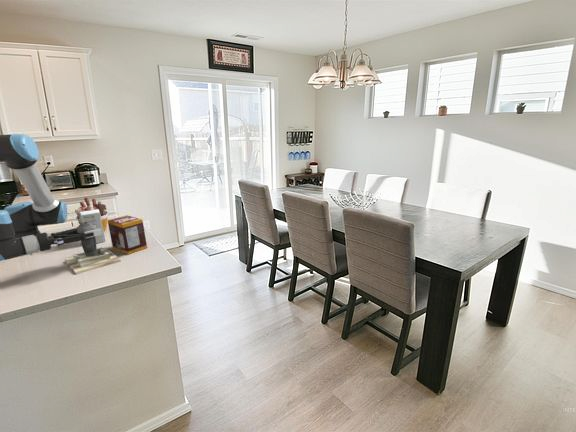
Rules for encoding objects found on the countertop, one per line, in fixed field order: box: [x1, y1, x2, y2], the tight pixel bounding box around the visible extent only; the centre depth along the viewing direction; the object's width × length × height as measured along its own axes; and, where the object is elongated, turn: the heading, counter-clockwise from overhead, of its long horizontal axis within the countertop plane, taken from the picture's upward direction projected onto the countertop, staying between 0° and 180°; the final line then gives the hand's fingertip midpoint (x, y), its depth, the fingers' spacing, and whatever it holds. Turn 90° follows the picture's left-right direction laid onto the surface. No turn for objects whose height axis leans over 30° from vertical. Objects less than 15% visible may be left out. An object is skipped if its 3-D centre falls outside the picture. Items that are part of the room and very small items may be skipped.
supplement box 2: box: [107, 215, 148, 255], centre depth 158 cm, size 10×15×16 cm
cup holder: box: [64, 247, 121, 275], centre depth 145 cm, size 20×18×4 cm
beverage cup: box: [76, 213, 98, 257], centre depth 142 cm, size 7×7×20 cm
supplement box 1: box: [80, 209, 107, 244], centre depth 170 cm, size 10×9×17 cm
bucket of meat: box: [74, 197, 109, 232], centre depth 186 cm, size 20×16×20 cm
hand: (98, 229), depth 145 cm, fingers closed on beverage cup, 7 cm apart
